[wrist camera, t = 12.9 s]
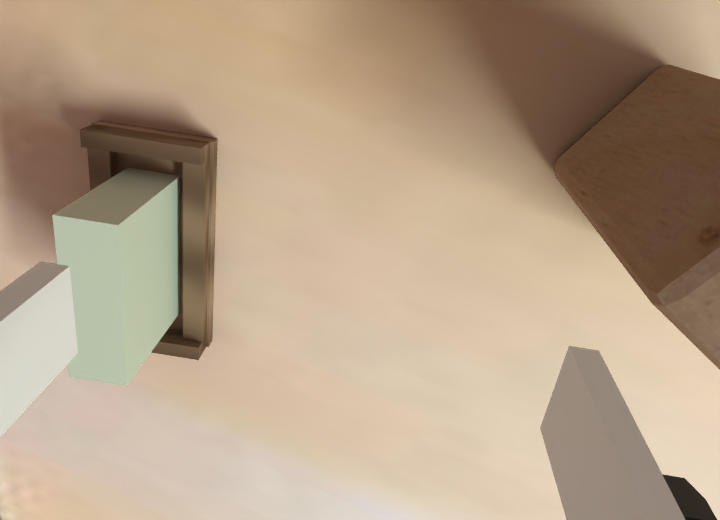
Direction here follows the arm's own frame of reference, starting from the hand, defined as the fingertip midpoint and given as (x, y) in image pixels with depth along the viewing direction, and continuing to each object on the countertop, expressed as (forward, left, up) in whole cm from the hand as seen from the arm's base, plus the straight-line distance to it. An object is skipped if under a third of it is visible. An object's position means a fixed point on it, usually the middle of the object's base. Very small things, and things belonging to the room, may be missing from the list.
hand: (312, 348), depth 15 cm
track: (+12, -16, -29) cm, 35 cm away
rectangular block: (+12, -16, -28) cm, 34 cm away
